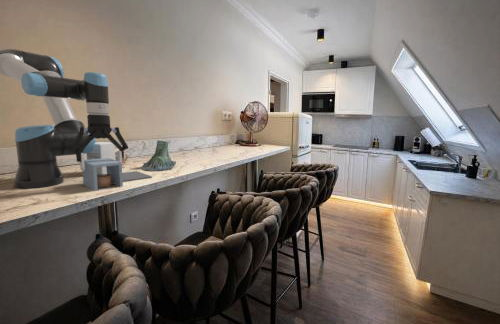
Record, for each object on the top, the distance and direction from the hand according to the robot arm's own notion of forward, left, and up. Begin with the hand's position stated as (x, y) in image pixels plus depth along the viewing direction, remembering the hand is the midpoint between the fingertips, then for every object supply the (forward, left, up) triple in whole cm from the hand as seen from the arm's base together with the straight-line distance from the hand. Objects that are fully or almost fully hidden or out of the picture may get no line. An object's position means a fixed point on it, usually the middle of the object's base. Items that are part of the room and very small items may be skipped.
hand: (102, 168), depth 99 cm
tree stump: (-21, +36, -8) cm, 42 cm away
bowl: (0, 0, -7) cm, 7 cm away
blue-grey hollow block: (0, 0, -7) cm, 7 cm away
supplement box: (-25, +8, -7) cm, 28 cm away
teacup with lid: (-36, +20, -7) cm, 42 cm away
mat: (-8, +14, -7) cm, 18 cm away
